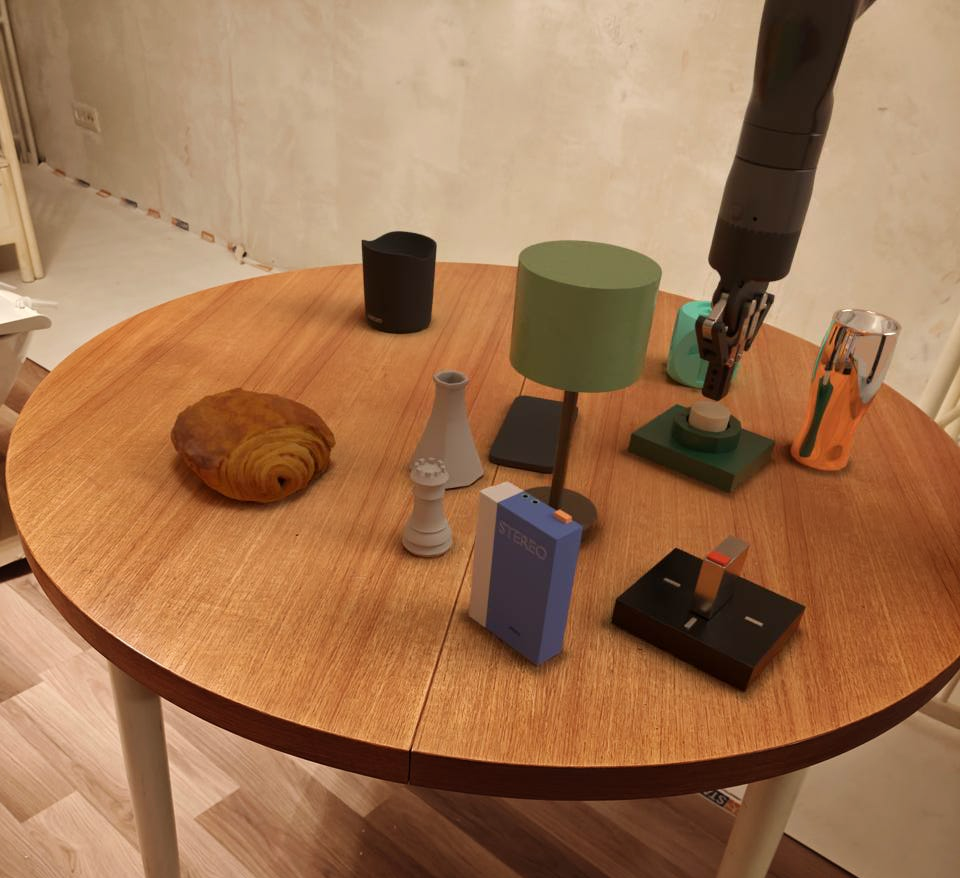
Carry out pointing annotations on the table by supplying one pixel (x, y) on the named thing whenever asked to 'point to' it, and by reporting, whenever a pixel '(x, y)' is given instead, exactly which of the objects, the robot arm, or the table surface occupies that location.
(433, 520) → the rook chess piece
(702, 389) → the robot arm
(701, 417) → the button
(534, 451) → the phone
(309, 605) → the table surface
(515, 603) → the walkman
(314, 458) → the croissant
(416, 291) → the pen holder
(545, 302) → the table lamp
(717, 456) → the switch base
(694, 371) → the decorative dice
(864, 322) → the chrome tumbler
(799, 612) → the panel
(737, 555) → the dimmer knob
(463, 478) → the flask
